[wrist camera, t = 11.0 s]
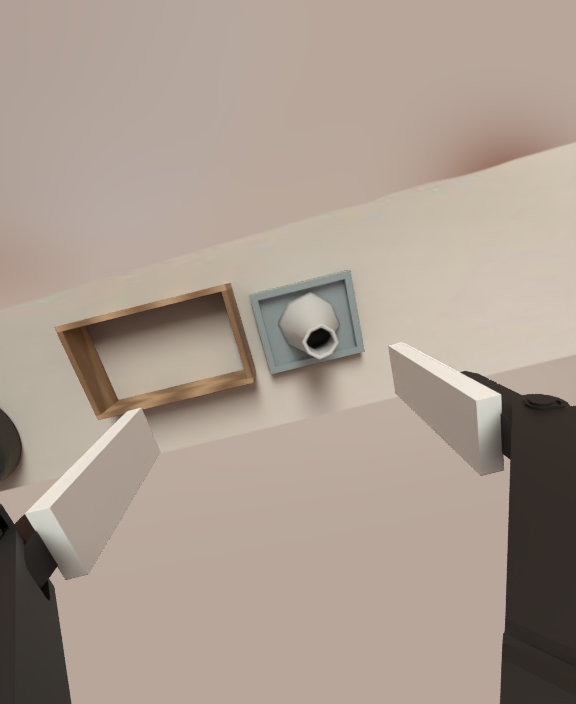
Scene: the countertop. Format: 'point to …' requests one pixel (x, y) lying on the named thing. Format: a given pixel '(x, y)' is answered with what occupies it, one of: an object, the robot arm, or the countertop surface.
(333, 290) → the tray
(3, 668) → the robot arm
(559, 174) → the countertop surface
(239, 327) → the caddy
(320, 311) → the flask
